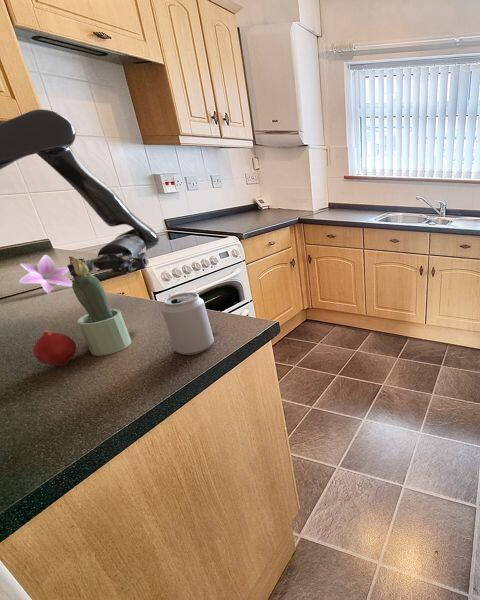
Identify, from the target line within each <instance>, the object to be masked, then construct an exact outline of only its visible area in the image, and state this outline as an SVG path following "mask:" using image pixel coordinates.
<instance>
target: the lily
mask: <svg viewBox="0 0 480 600" xmlns="http://www.w3.org/2000/svg"><path fill="white" fill-rule="evenodd" d="M19 265H20V266H21V267H22V268H24V270H26V271H27V272H28V273H27V274H25V275H24V276H22V277H21V278H20V279H19V280H18V283H19V284H40V285H41V287H42V289H43V290H44V292H45V293H46V294H50V293H51V292H52V291H53V289H54V288H55V285H57V286H64V287H72V283H73V280H71V279H69V278H68V277H67V276H66V274H67V273H68V272H70V271H69V269H68V267H60V266H59V267H56V264H55V263H54V261H53V259H52V258H51V257H50V256H49V255H47V254H44V255H42V257H41V258H40V259H39V261H38V262H37V264H36V265H35V264H30V263H21V262H20V263H19ZM72 288H73V287H72Z"/></svg>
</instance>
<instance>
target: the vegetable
mask: <svg viewBox="0 0 480 600" xmlns="http://www.w3.org/2000/svg"><path fill="white" fill-rule="evenodd" d="M68 259H69V260H68V261H69V264H71V263H73V266H74V269H75V273H76V274H78V276H76V277H75V278H73V280H72V282H73V283H72V290H73V293H74V294H75V297H76V298H77V300H78V302H79V303H80V305H81V306H82V308H84V309H85V311H86V313H87V314H89V316H90V318H91V320H92V322H93V323H94V322H99V321H103V320H106V319H109V318H112V317H113V314H112V312H111V309H112V308H111V307H110V305H109V302H108V298H107V296H106V292H105V290H104V287H103V284H102V282H101V281H100V280H99V278H97V277H96V276H95V275H94V274H89V273H88V271H89V269H88V267H87V265H86V264H85V263H84V262H82V261H80V260H79V259H80V258H77V257H76V256H71V255H70V256H68Z"/></svg>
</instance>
